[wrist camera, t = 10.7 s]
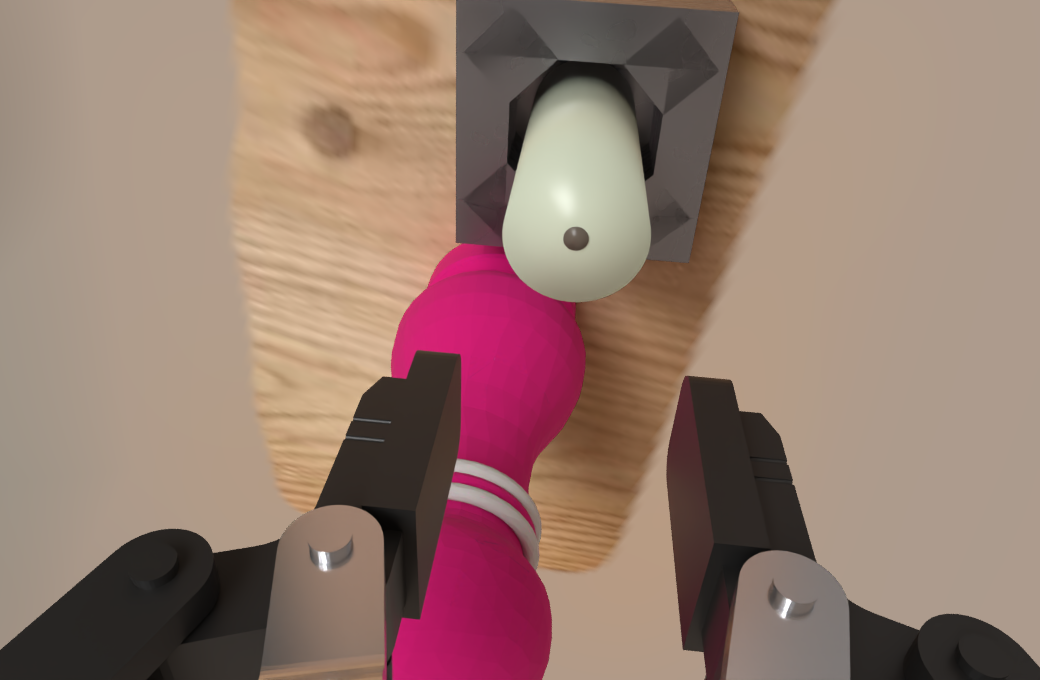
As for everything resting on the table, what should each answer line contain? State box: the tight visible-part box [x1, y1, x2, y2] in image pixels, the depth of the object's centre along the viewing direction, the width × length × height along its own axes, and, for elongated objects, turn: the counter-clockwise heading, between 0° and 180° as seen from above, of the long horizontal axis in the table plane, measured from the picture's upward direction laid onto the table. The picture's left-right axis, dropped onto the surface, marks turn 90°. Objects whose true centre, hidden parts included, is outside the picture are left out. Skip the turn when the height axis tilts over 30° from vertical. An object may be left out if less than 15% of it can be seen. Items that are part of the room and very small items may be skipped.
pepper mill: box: [391, 243, 586, 680], centre depth 24 cm, size 7×7×20 cm
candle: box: [502, 61, 651, 302], centre depth 22 cm, size 4×4×10 cm
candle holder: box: [456, 0, 739, 263], centre depth 25 cm, size 8×8×4 cm
